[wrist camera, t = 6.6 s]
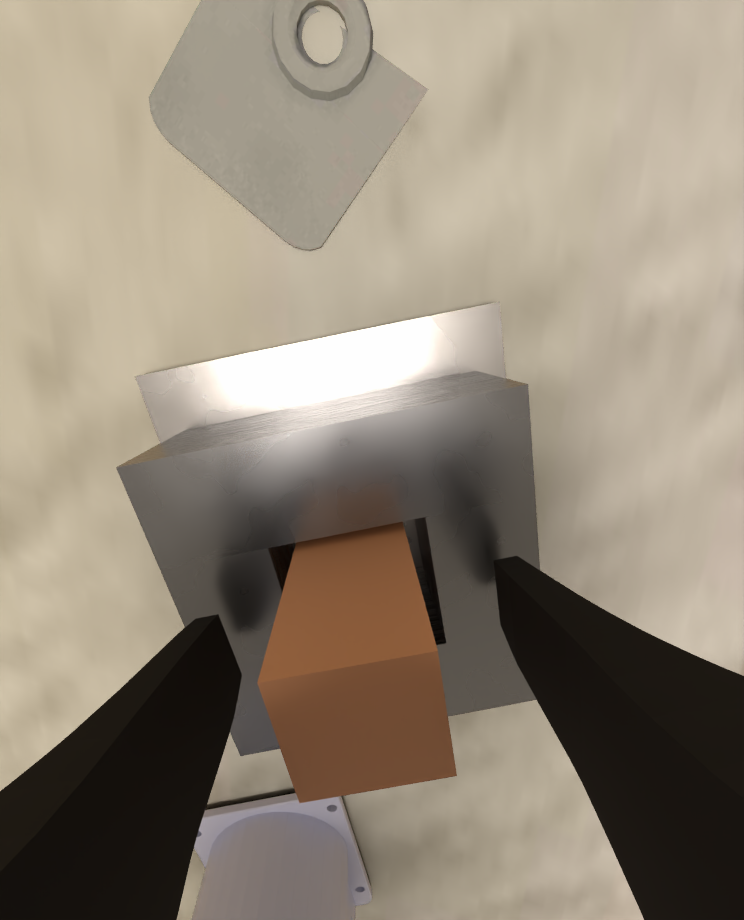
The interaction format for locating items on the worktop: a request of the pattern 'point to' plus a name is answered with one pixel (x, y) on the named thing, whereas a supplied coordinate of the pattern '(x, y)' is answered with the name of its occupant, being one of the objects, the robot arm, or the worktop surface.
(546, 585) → the robot arm
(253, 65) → the mounting bracket
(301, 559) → the tan rectangular block
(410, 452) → the slotted block
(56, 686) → the worktop surface
